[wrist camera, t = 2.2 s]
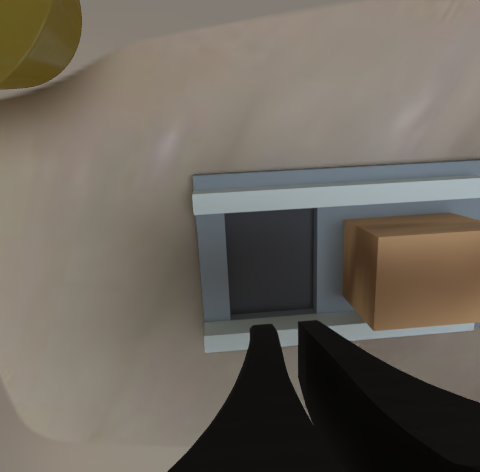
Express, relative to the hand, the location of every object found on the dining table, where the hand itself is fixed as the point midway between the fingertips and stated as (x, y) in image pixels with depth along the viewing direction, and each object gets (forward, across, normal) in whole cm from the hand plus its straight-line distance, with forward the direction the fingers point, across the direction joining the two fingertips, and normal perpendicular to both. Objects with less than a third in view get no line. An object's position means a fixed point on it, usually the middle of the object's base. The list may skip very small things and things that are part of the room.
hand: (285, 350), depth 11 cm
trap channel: (+9, -10, 0) cm, 13 cm away
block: (+8, -8, 0) cm, 12 cm away
